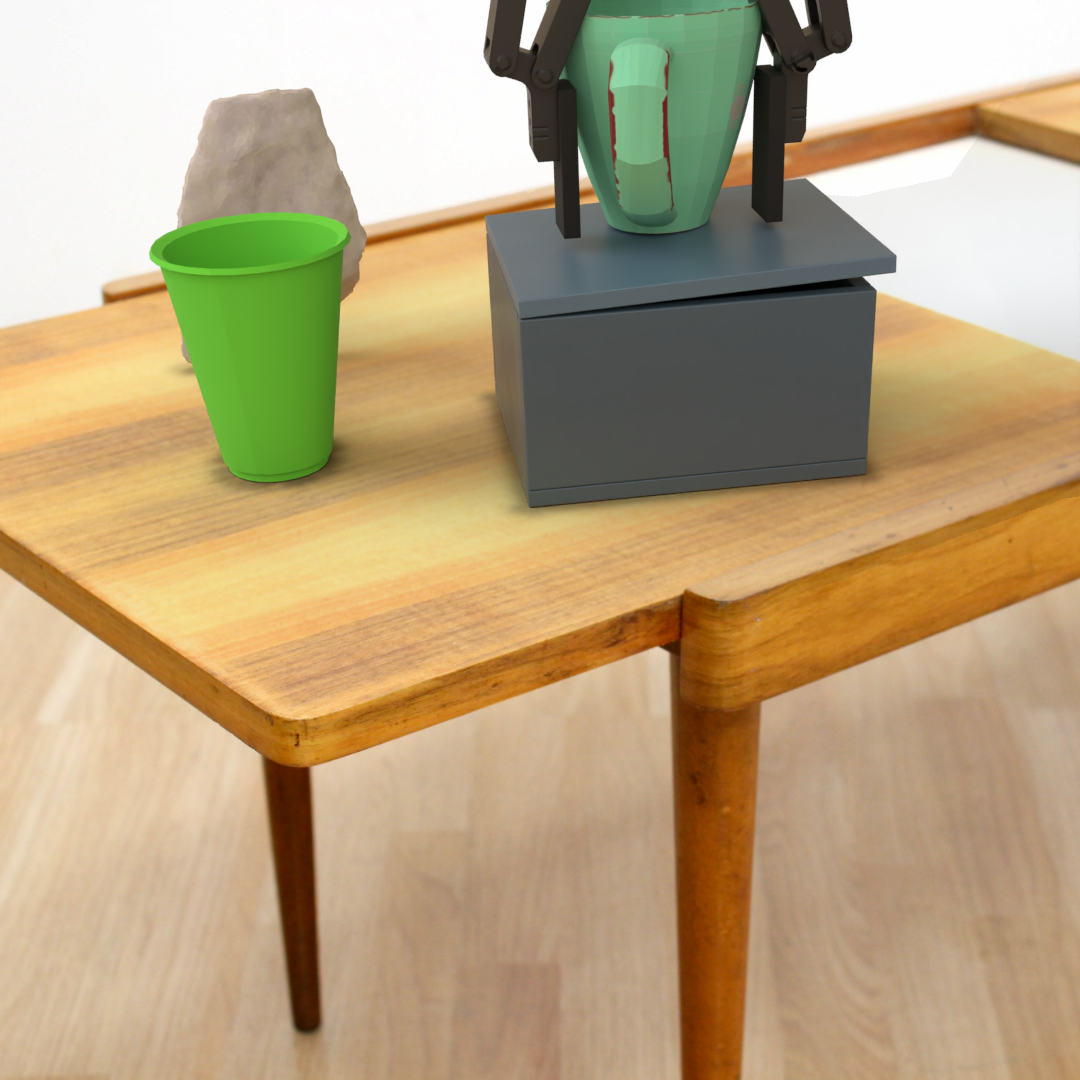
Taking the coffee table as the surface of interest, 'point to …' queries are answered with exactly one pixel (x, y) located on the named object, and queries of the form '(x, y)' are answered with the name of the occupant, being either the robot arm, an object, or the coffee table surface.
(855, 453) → the chest
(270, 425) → the cup
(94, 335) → the coffee table surface
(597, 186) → the mug
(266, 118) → the stone
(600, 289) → the lid
